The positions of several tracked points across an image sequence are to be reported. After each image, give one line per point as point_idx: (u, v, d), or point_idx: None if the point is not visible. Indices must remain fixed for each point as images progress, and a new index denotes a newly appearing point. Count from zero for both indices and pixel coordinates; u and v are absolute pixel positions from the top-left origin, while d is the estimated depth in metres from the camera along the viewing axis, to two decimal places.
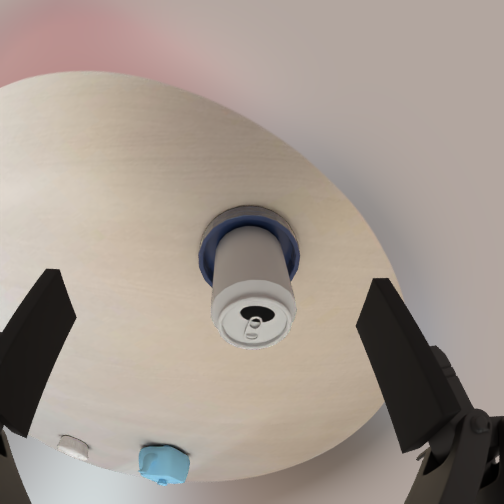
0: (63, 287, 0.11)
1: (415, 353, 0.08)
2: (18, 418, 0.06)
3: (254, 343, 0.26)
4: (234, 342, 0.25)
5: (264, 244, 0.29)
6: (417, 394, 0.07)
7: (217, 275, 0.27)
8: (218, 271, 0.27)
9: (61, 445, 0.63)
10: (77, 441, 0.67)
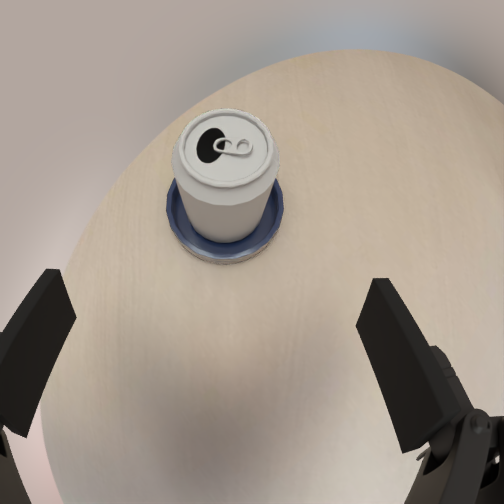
0: (63, 287, 0.11)
1: (415, 353, 0.08)
2: (18, 418, 0.06)
3: (266, 145, 0.19)
4: (260, 166, 0.18)
5: None
6: (417, 394, 0.07)
7: (199, 214, 0.22)
8: (199, 216, 0.22)
9: None
10: None
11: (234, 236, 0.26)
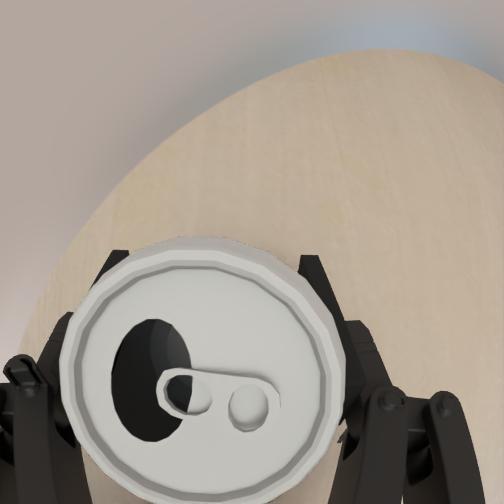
0: None
1: None
2: None
3: (319, 379, 0.06)
4: (301, 460, 0.05)
5: None
6: None
7: None
8: None
9: None
10: None
11: None
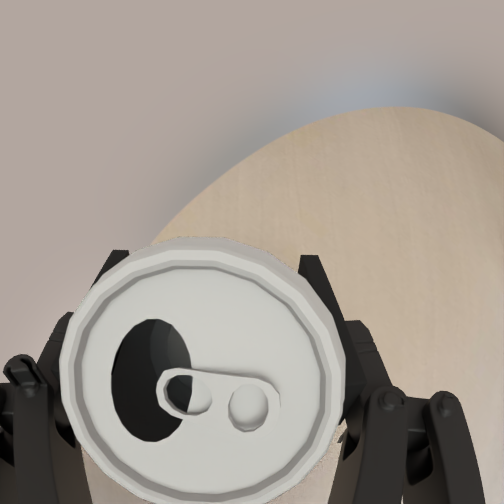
0: None
1: None
2: None
3: (319, 379, 0.06)
4: (301, 460, 0.05)
5: None
6: None
7: None
8: None
9: None
10: None
11: None
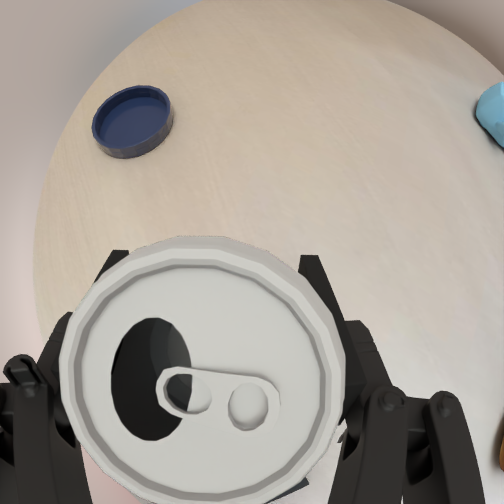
0: None
1: None
2: None
3: (319, 378, 0.06)
4: (301, 459, 0.05)
5: None
6: None
7: None
8: None
9: None
10: None
11: None
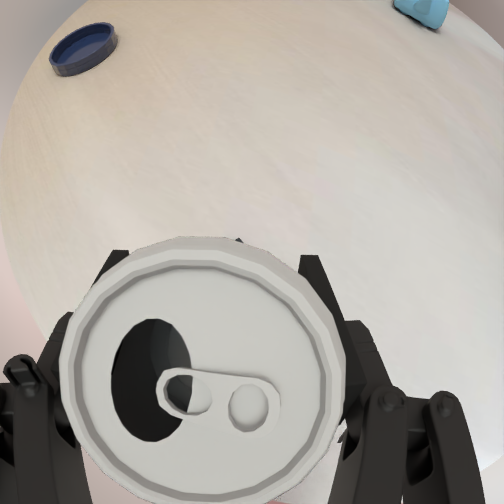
0: None
1: None
2: None
3: (319, 379, 0.06)
4: (301, 460, 0.05)
5: None
6: None
7: None
8: None
9: None
10: None
11: None
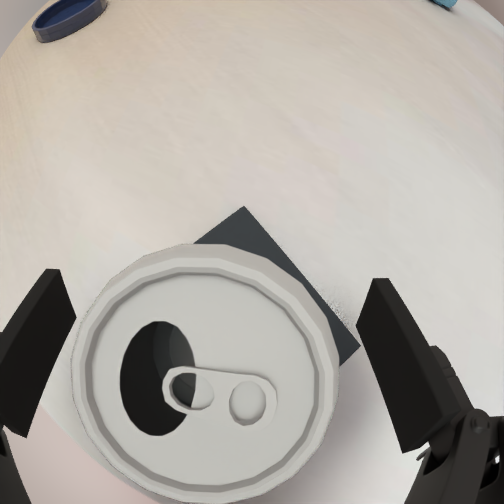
0: (63, 287, 0.11)
1: (415, 353, 0.08)
2: (18, 418, 0.06)
3: (313, 377, 0.06)
4: (296, 452, 0.06)
5: None
6: (417, 394, 0.07)
7: None
8: None
9: None
10: None
11: None
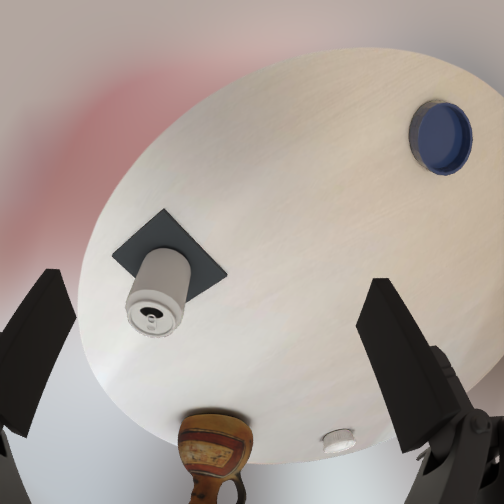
0: (63, 287, 0.11)
1: (415, 353, 0.08)
2: (18, 418, 0.06)
3: (157, 333, 0.36)
4: (142, 332, 0.35)
5: (166, 262, 0.39)
6: (417, 394, 0.07)
7: (132, 286, 0.37)
8: (133, 283, 0.37)
9: (328, 444, 0.78)
10: (341, 431, 0.80)
11: None
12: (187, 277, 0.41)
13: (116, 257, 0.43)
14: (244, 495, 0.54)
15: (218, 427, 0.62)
